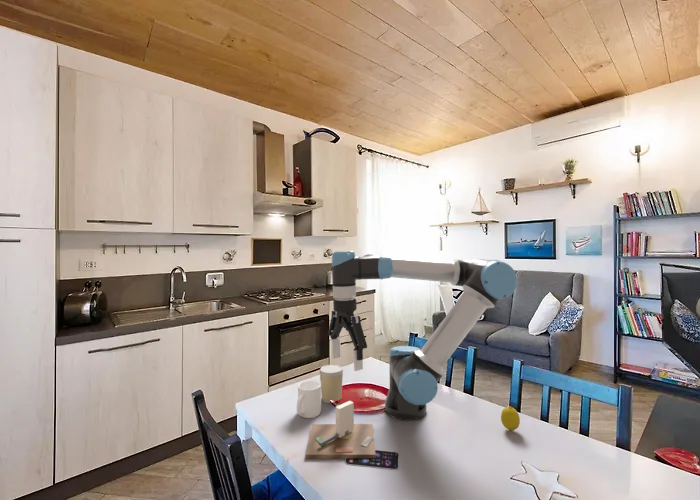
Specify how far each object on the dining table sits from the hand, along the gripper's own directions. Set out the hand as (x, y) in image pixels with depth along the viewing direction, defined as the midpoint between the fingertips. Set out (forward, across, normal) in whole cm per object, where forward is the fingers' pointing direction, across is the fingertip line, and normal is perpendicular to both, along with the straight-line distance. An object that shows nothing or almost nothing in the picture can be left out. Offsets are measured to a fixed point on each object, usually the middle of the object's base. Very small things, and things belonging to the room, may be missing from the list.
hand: (346, 363), depth 107 cm
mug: (+22, +17, +7) cm, 29 cm away
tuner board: (+22, -3, +5) cm, 23 cm away
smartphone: (+23, -15, +2) cm, 28 cm away
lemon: (+24, -28, -44) cm, 58 cm away
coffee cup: (+23, +24, -7) cm, 34 cm away
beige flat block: (+21, -3, +6) cm, 22 cm away
